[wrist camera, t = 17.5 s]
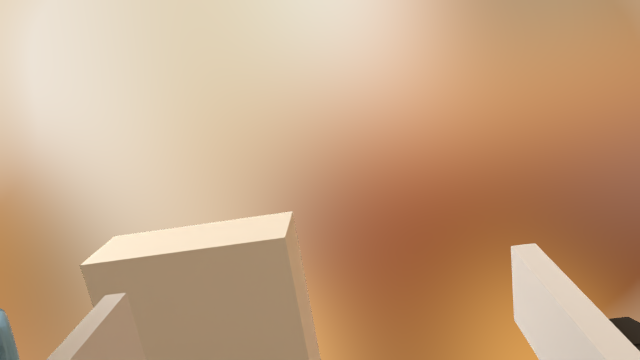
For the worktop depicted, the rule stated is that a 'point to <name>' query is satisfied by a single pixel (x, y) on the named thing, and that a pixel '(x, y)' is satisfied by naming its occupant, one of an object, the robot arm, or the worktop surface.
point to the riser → (212, 289)
